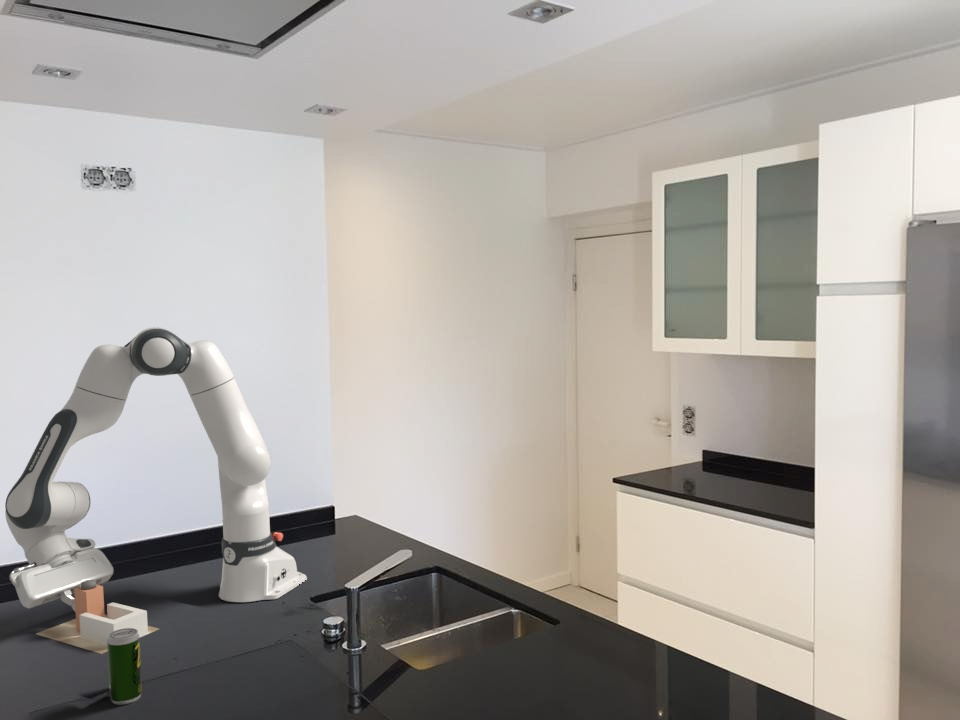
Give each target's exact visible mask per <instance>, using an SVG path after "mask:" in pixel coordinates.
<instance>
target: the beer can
mask: <svg viewBox="0 0 960 720" xmlns="http://www.w3.org/2000/svg"><path fill="white" fill-rule="evenodd" d="M140 638H141V637H140ZM140 638H139V634H138V630H137V629H134V628H125V629H119V630H116V631H113V632H112V633H110V634H109V635H108V640H107V649H108V651H107V664H108V665H107V666H108V685H109V688H108V689H109V699H110V701H111V702H112V703H113V704H114V705H118V706H119V705H120V706H121V705H128V704H131V703H134V702H137V701H138V700H139V699H141V695H142V693H143V681H142V679H143V678H142V660H141V659H142V658H141V644H140V643H141V642H140Z"/></svg>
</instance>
